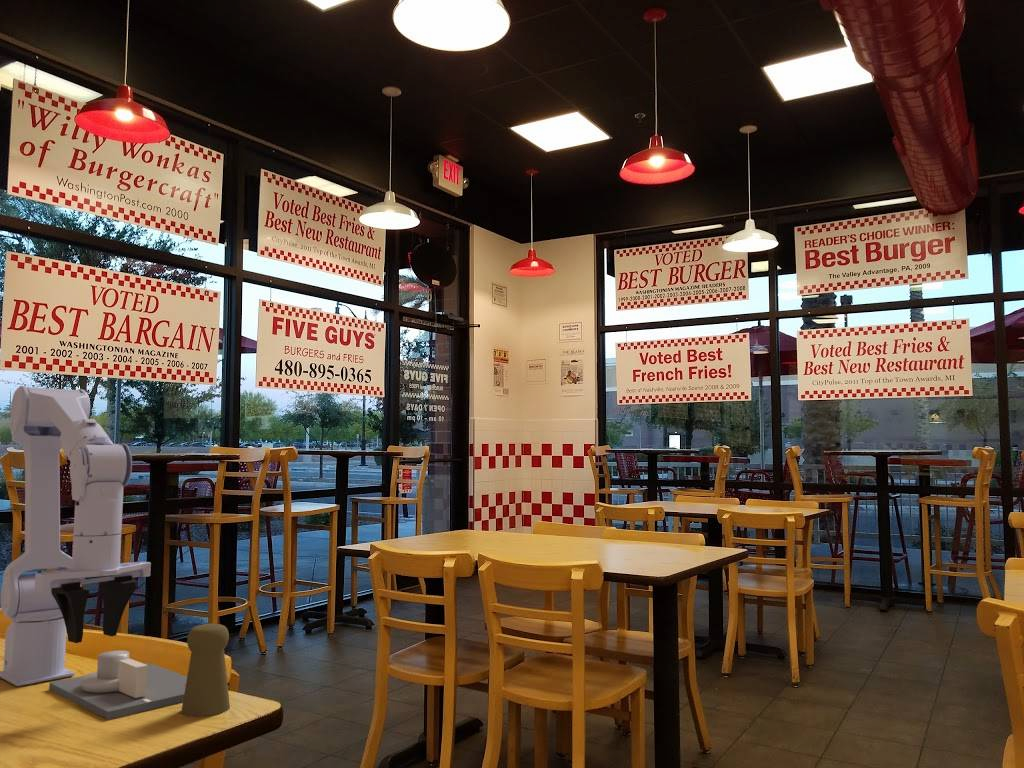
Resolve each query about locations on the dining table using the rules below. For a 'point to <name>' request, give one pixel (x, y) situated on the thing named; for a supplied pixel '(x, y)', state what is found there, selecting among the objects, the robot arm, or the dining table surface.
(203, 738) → the dining table surface
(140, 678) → the dial
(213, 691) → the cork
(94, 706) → the dial board
